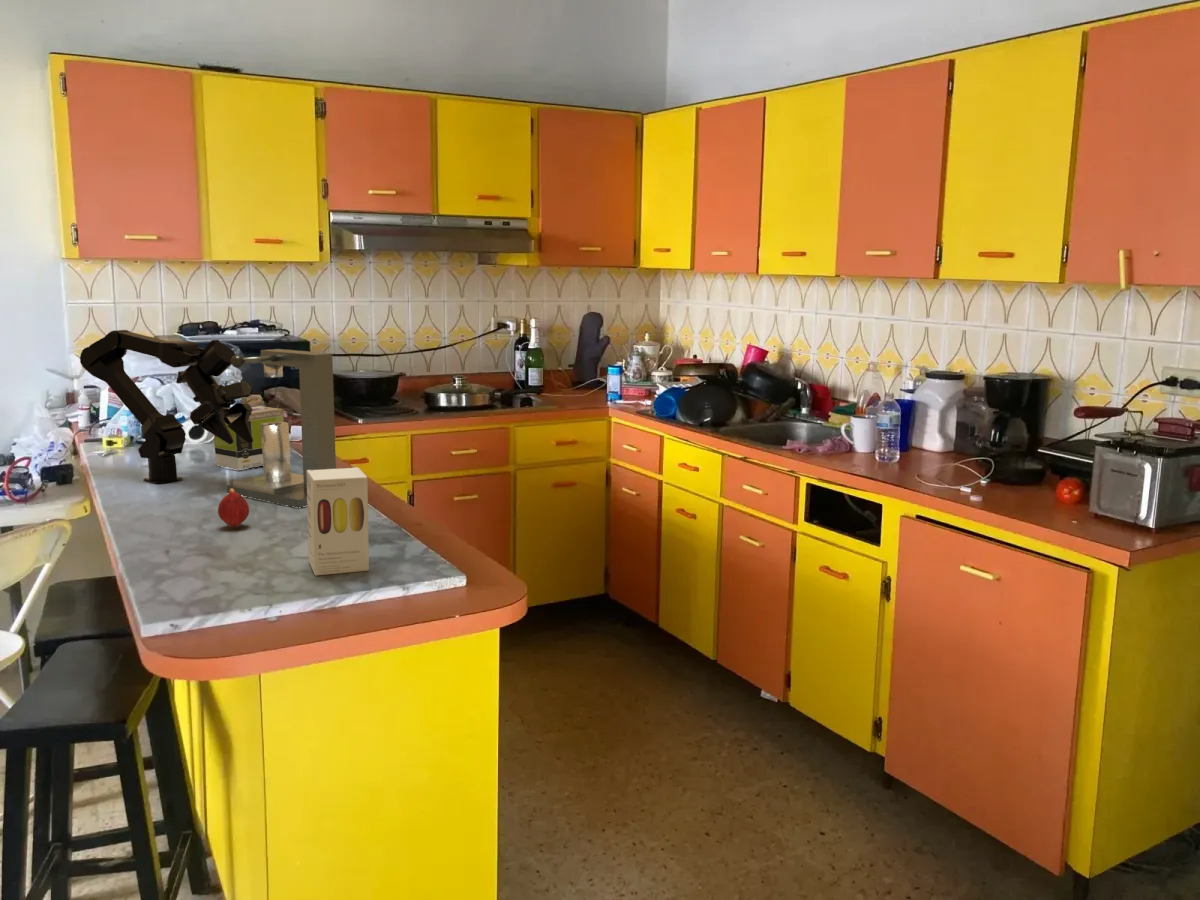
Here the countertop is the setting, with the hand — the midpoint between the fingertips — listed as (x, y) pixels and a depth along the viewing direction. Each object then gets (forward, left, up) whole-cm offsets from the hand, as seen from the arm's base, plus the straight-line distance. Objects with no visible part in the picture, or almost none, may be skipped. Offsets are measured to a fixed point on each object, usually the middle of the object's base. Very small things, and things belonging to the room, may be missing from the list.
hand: (242, 442), depth 228 cm
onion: (+27, -23, -11) cm, 37 cm away
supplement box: (+63, -29, -11) cm, 70 cm away
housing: (+9, +3, -8) cm, 12 cm away
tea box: (-22, +20, -11) cm, 32 cm away
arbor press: (+13, 0, -11) cm, 17 cm away
